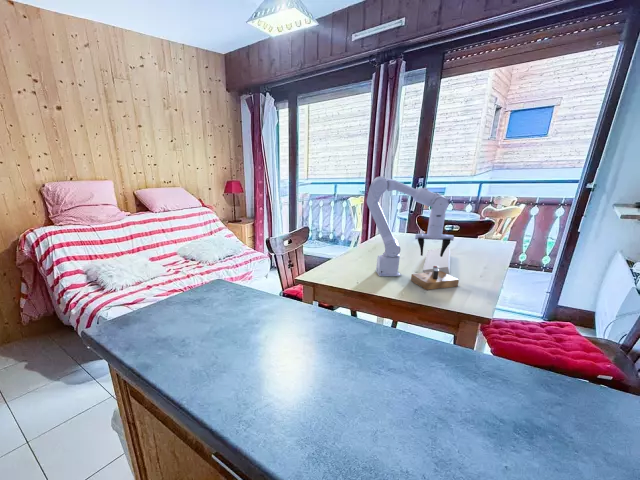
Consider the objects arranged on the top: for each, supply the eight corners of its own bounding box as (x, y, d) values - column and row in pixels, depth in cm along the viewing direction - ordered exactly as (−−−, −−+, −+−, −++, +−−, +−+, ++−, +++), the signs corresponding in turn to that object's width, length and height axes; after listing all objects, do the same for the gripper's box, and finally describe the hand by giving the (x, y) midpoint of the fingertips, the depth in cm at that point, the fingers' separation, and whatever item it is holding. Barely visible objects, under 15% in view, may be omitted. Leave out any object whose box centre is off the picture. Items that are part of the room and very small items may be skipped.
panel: (425, 289, 132) (427, 282, 131) (410, 280, 143) (411, 273, 141) (457, 286, 134) (459, 279, 133) (440, 277, 144) (441, 270, 143)
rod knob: (437, 279, 134) (438, 270, 132) (432, 279, 135) (434, 270, 133) (436, 274, 139) (437, 265, 138) (432, 273, 140) (433, 265, 139)
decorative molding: (424, 280, 148) (449, 277, 143) (422, 270, 147) (448, 266, 142) (429, 258, 175) (450, 255, 170) (427, 250, 174) (449, 246, 169)
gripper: (454, 223, 139) (449, 254, 144) (416, 222, 144) (412, 252, 149) (456, 226, 133) (450, 258, 138) (417, 225, 138) (413, 256, 143)
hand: (431, 255), depth 143 cm, fingers open, 7 cm apart
